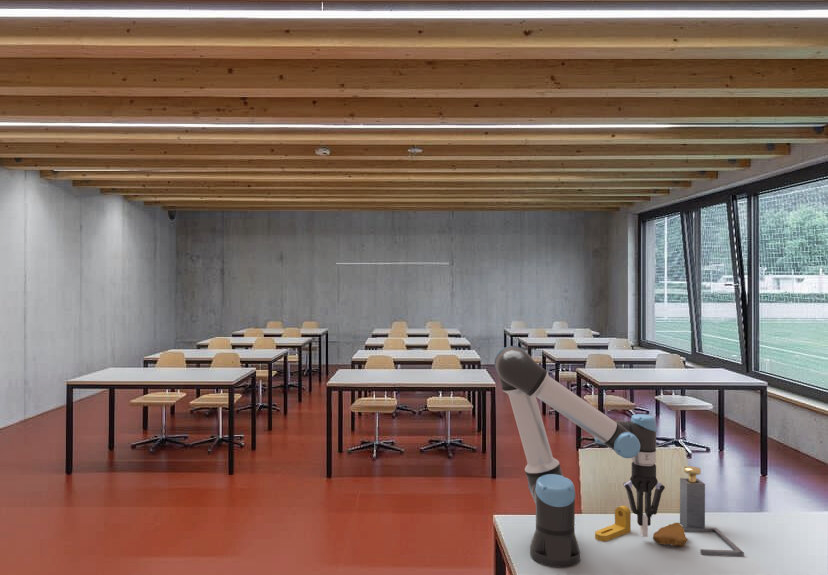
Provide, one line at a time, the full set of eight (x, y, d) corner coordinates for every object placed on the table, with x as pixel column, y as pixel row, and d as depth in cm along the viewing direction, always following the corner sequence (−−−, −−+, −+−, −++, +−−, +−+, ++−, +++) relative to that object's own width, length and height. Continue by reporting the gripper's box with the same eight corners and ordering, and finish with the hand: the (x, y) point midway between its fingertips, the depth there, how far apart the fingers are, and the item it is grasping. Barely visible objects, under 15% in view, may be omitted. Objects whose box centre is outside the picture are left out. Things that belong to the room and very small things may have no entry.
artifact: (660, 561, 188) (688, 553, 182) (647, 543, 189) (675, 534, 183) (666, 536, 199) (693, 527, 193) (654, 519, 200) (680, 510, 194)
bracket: (619, 527, 202) (619, 503, 202) (630, 532, 198) (630, 507, 198) (592, 538, 193) (592, 513, 193) (603, 542, 189) (603, 517, 189)
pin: (687, 494, 200) (687, 470, 200) (681, 489, 205) (681, 465, 205) (703, 495, 200) (703, 470, 200) (696, 490, 205) (696, 466, 205)
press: (701, 554, 181) (702, 503, 181) (671, 523, 206) (671, 477, 206) (743, 556, 180) (743, 504, 180) (707, 524, 205) (707, 478, 205)
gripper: (627, 465, 187) (627, 539, 187) (668, 466, 186) (668, 540, 186) (620, 459, 195) (620, 529, 194) (659, 459, 194) (660, 530, 193)
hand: (644, 535), depth 190 cm, fingers closed
